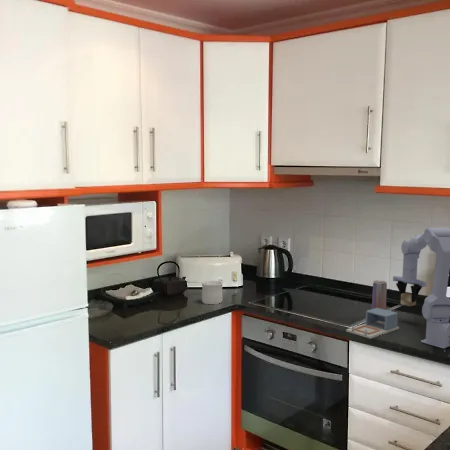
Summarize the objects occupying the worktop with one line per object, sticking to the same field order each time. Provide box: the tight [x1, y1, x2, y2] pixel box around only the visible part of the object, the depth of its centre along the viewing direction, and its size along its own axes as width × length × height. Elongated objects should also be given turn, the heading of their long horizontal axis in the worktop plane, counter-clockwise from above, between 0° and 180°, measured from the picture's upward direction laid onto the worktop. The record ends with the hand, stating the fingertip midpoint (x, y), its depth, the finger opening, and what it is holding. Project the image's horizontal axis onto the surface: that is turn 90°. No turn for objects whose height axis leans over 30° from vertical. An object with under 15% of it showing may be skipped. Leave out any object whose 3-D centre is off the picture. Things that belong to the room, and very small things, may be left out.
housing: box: [364, 308, 399, 330], centre depth 225 cm, size 10×8×6 cm
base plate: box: [345, 320, 400, 339], centre depth 222 cm, size 12×20×3 cm, turn 130°
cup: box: [201, 280, 224, 305], centre depth 262 cm, size 10×10×10 cm
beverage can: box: [371, 279, 388, 310], centre depth 244 cm, size 6×6×15 cm
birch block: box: [400, 291, 417, 307], centre depth 231 cm, size 4×4×4 cm
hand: (408, 300), depth 231 cm, fingers closed on birch block, 4 cm apart
